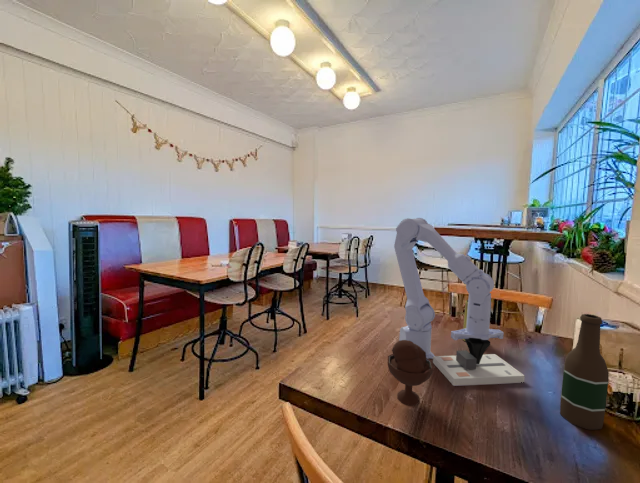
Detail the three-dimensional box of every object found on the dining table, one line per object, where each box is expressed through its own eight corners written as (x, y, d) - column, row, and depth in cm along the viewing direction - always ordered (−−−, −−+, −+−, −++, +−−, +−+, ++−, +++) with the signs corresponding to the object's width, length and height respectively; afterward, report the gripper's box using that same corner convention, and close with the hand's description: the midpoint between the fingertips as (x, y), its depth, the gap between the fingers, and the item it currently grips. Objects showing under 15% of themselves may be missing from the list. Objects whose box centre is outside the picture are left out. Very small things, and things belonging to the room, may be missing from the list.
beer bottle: (594, 436, 61) (607, 325, 59) (551, 413, 68) (561, 313, 65) (610, 424, 65) (623, 319, 62) (567, 403, 72) (578, 307, 69)
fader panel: (453, 385, 79) (454, 378, 78) (432, 362, 90) (433, 356, 90) (524, 382, 80) (524, 375, 80) (494, 360, 92) (495, 353, 92)
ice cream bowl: (426, 419, 66) (429, 355, 64) (379, 401, 72) (381, 343, 70) (436, 394, 75) (439, 337, 73) (393, 380, 81) (395, 328, 79)
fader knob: (465, 369, 82) (466, 359, 82) (456, 360, 87) (456, 350, 87) (475, 369, 82) (476, 358, 82) (465, 359, 87) (466, 350, 87)
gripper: (461, 322, 79) (458, 370, 80) (512, 321, 80) (508, 368, 82) (448, 313, 86) (445, 357, 87) (495, 312, 87) (491, 356, 89)
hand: (475, 362), depth 85 cm, fingers closed
